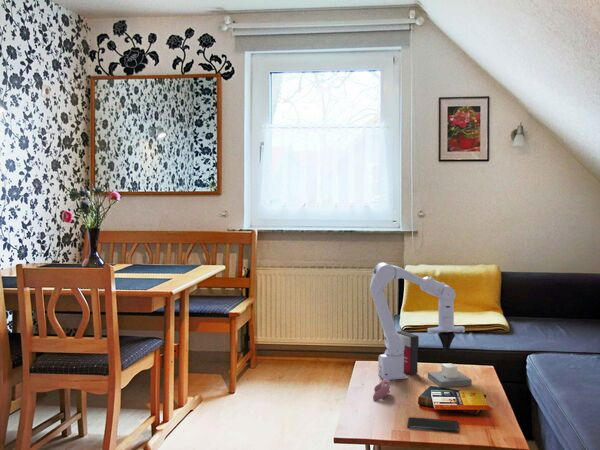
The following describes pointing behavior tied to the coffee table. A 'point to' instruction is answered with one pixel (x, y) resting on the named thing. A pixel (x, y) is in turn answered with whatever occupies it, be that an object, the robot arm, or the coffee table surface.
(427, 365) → the coffee table surface
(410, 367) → the dark grey red box
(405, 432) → the coffee table surface
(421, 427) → the phone
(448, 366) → the white rectangular box
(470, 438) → the coffee table surface
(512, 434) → the coffee table surface
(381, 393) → the pink lumpy figure
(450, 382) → the socket
